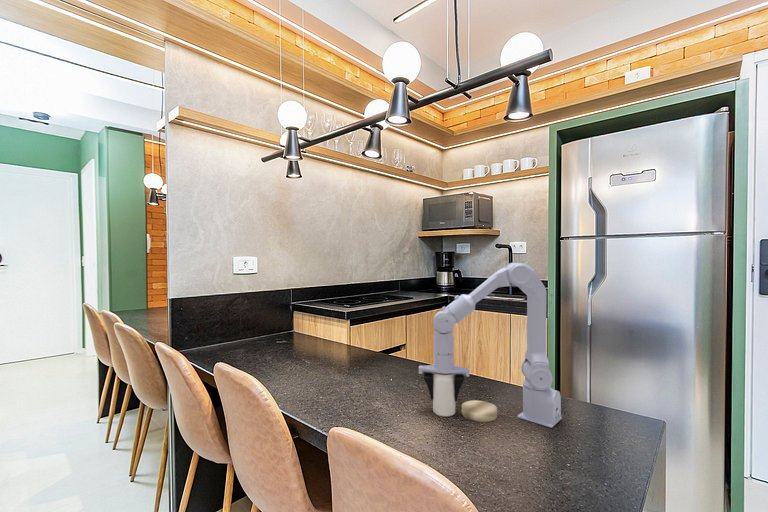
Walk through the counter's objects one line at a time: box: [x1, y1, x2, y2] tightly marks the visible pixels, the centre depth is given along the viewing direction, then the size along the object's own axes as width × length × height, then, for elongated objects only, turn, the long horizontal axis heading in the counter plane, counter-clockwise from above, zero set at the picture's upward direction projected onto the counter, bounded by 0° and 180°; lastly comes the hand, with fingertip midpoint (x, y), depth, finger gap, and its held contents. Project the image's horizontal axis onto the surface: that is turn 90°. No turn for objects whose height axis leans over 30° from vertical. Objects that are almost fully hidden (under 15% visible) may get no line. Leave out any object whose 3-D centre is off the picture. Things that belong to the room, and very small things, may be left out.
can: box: [432, 373, 456, 418], centre depth 107 cm, size 6×6×12 cm
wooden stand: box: [461, 399, 498, 423], centre depth 105 cm, size 10×10×2 cm
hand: (444, 399), depth 107 cm, fingers closed on can, 6 cm apart
